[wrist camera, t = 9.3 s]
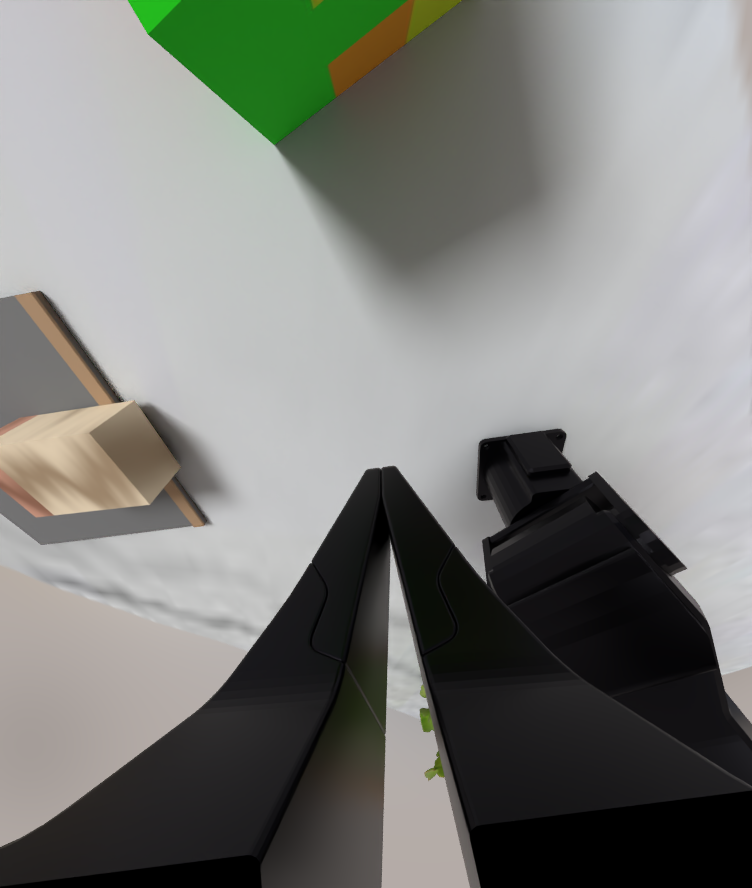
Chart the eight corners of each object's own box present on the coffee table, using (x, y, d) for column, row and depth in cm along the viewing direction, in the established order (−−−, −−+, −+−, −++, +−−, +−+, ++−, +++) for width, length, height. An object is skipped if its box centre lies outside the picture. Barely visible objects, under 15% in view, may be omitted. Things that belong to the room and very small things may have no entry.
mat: (206, 520, 29) (204, 525, 28) (44, 541, 30) (39, 546, 30) (39, 290, 17) (30, 292, 17) (-211, 340, 19) (-226, 343, 18)
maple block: (149, 504, 21) (35, 517, 22) (180, 467, 24) (80, 479, 25) (88, 432, 17) (-44, 451, 18) (134, 400, 21) (19, 417, 22)
